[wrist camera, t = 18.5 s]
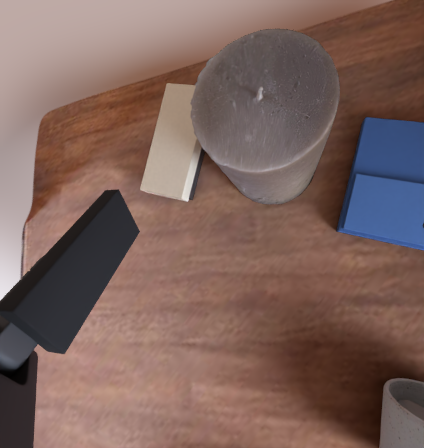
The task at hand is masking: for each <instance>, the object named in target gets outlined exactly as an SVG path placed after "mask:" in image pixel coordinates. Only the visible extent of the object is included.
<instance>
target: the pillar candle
mask: <svg viewBox="0 0 424 448" xmlns="http://www.w3.org/2000/svg"><path fill="white" fill-rule="evenodd" d="M195 85H196V87H195V91H194V95H193V98H192V99H191V103H190V104H191V105H192V110H191V116H190V117H191V119H192V124H193V127H194V134H195V135H196V137H197V139H198V141H199V142H200V144H201V146H202V148H203V149H204V150H205V151H206V152H207V153H208V154H209V156H210V157H211V159H212V160H214V162H215V163H216V164H217V165H218V166H219V167H220V169H221V170H222V172H224V173H225V174H226V175H227V177H228V178H229V179H230V180H231V181H232V183H233V184H234V185H235V186H236V187H237V188H238V189H239V191H240V192H241V193H242V194H243V195H245V196H246V197H248V198H250V199H251V200H252V201H255V202H258V203H262V204H283V203H285V202H288V201H291V200H292V199H294V198H296V197H297V196H299V195H300V194H301V193H302V192H303V191H304V190H305V189H306V188H307V186H308V185H309V184H310V182H311V180H312V178H313V174H314V173H315V170H316V167H317V165H318V163H319V160H320V158H321V155H322V152H323V150H324V147H325V144H326V141H327V139H328V136H329V134H330V131H331V128H332V125H333V122H334V119H335V116H336V112H337V108H338V103H339V98H340V84H339V76H338V73H337V70H336V68H335V65H334V63H333V60H332V58H331V57H330V55H329V54H328V53H327V52H326V51H325V50H324V48H323V47H322V46H321V45H320V44H319V43H318V42H317V41H316V40H314V39H312V38H311V37H309V36H307V35H305V34H303V33H300V32H297V31H293V30H288V29H266V30H260V31H257V32H254V33H251V34H248V35H245V36H243V37H241V38H239V39H237V40H235V41H233V42H232V43H230V44H228V45H227V46H226V47H225V48H224V49H223V50H221V51H220V52H219V53H218V54H216V55H215V56H214V57H212V58H210V59H209V60H208V62H207V64H206V67H205V68H203V70H202V71H201V73H200V74H199V76H198V81H197V82H196V84H195Z"/></svg>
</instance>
